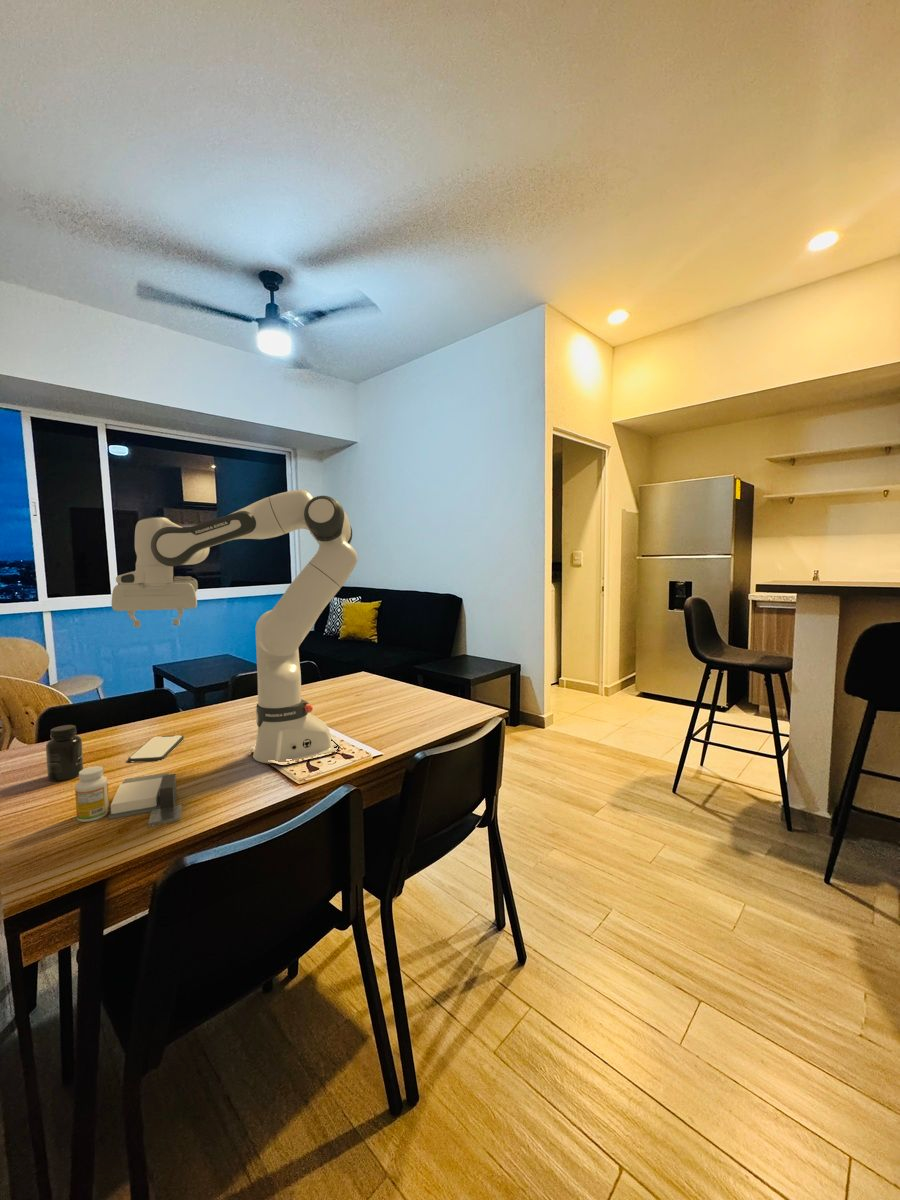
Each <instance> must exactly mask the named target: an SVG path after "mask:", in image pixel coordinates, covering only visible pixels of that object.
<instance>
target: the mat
mask: <svg viewBox="0 0 900 1200" xmlns="http://www.w3.org/2000/svg"><path fill="white" fill-rule="evenodd" d="M164 775H170V772H163V773H155V774H150V775H144V776H143V775H142V776H137V777H132V778H131V777H130V778H125V779H124V781H123V783H122V784H124V783H130V782H137V781H143V780H149V779H155V778H162V779H163V776H164ZM155 809H160V796H159V799H158V803H157V806H156V807H153V808H148V809H142V810H137V811H131V812H126V813H120V814H115V815H113V814H111V812H110V813H109V815H108V818H107V819H108V820H114V819H118V818H124V817H130V816H135V815H140V814H146V812H147V813H151V811H152V810H155Z"/></svg>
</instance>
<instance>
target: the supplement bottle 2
mask: <svg viewBox="0 0 900 1200" xmlns="http://www.w3.org/2000/svg"><path fill="white" fill-rule="evenodd" d="M78 779H79V780H78V781H77V783H76V784H75V786H74V791H75V793H74V794H75V808H76V811H75V812H76V819H77V821H78V822H82V823H87V822H94V821H96V820H100V819H102V818H104V817H105V816H107V814H109V812H110V801H109V800H110V799H109V782H108V778H107V777H106V776H104V767H103V766H101V765H100V766H99V765H94V766H89V767H85V768H83V770H81V771H80V772H79V776H78Z"/></svg>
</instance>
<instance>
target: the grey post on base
mask: <svg viewBox="0 0 900 1200" xmlns="http://www.w3.org/2000/svg"><path fill="white" fill-rule="evenodd" d="M159 790H160V809H155V810H152V811H151V812H150V815H149V817H148V818H149V819H148V821H147V827H148V826H151V827H153V826H152V825H156V826H159V825H158V824H161V825H165V824H164V823H166V824H170V823H171V822H172V823H176V821H177V822H180V820H181V815H182V812H183V811H182V809H183V804H179V805H175V804H176V800H177V795H178V793H177V773H172V774H170V773H169V775H164V776H163V779H162V782H161V786H160V789H159ZM172 823H171V824H172Z"/></svg>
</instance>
